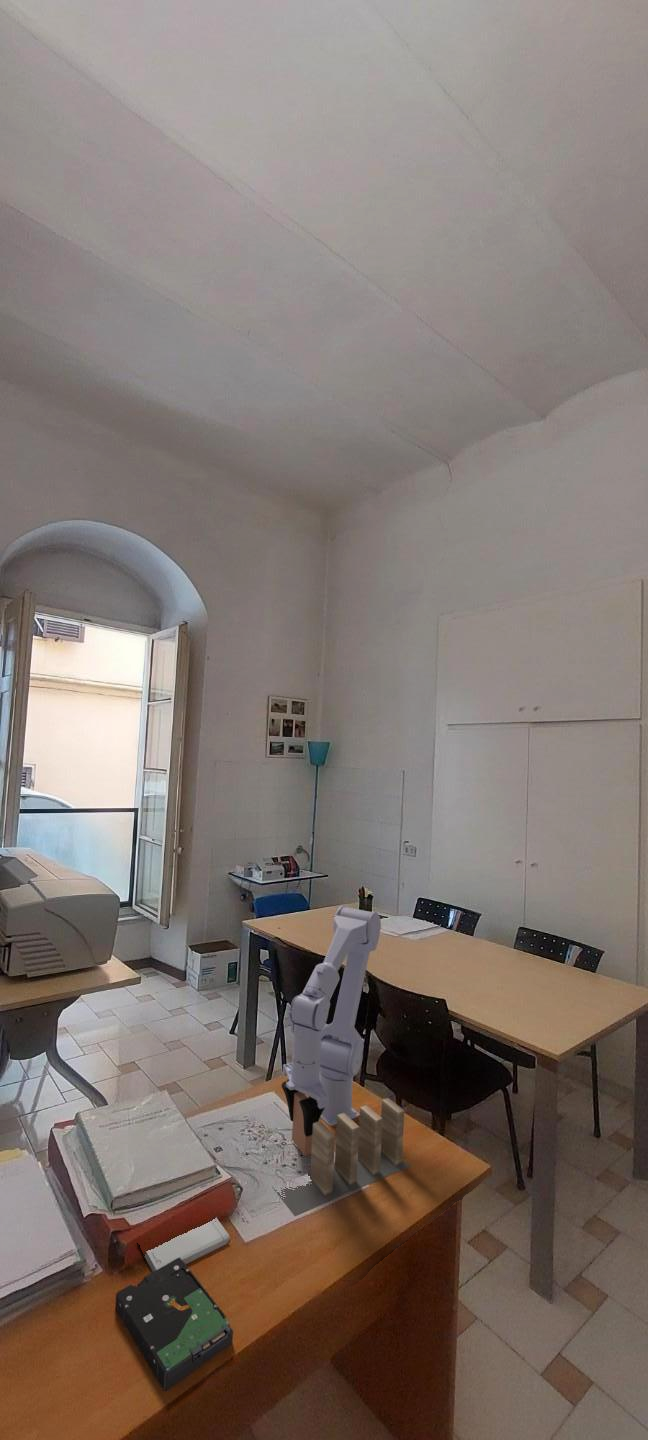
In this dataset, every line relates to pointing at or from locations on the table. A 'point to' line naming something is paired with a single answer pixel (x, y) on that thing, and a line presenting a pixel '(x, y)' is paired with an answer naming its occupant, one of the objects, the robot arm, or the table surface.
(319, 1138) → the domino
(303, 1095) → the domino
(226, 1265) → the table surface
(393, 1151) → the domino
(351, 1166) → the domino
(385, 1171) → the grey flat rectangular board
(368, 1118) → the domino
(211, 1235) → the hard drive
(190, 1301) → the disk drive
